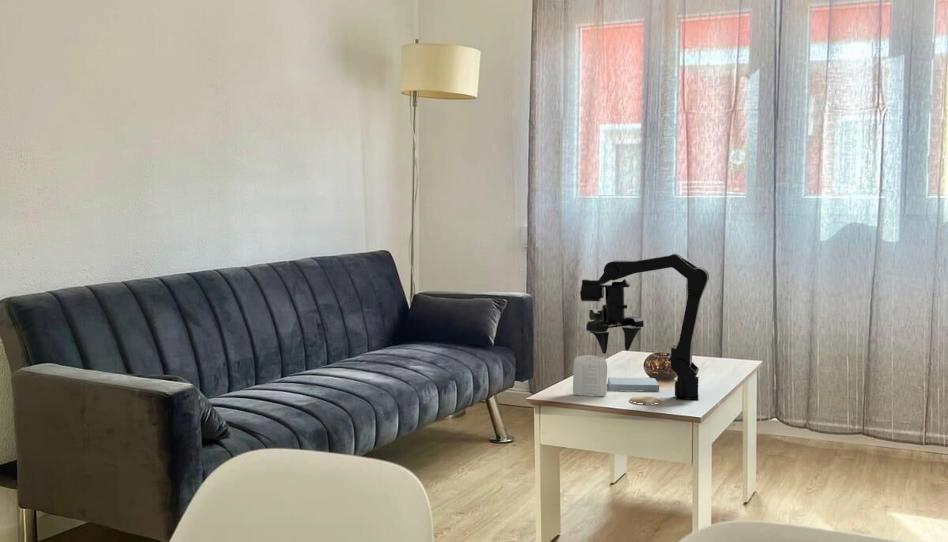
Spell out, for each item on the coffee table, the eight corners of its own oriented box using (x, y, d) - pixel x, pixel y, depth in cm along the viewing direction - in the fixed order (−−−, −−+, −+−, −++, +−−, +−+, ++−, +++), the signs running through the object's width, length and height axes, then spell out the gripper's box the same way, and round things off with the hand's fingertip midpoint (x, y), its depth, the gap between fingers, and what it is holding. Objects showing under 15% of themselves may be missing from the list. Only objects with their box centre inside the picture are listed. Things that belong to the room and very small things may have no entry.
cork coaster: (661, 399, 276) (661, 397, 276) (660, 405, 267) (660, 403, 267) (631, 397, 278) (631, 395, 278) (628, 404, 269) (628, 402, 269)
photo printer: (607, 394, 283) (607, 354, 282) (606, 397, 278) (606, 357, 277) (573, 393, 285) (573, 353, 284) (572, 396, 280) (572, 355, 279)
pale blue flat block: (654, 384, 298) (654, 378, 298) (659, 391, 287) (659, 385, 287) (607, 383, 299) (608, 377, 299) (610, 390, 288) (610, 384, 288)
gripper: (620, 297, 295) (621, 345, 296) (574, 302, 285) (575, 352, 286) (644, 300, 286) (645, 350, 287) (597, 304, 276) (598, 356, 277)
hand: (615, 352), depth 284 cm, fingers open, 9 cm apart
